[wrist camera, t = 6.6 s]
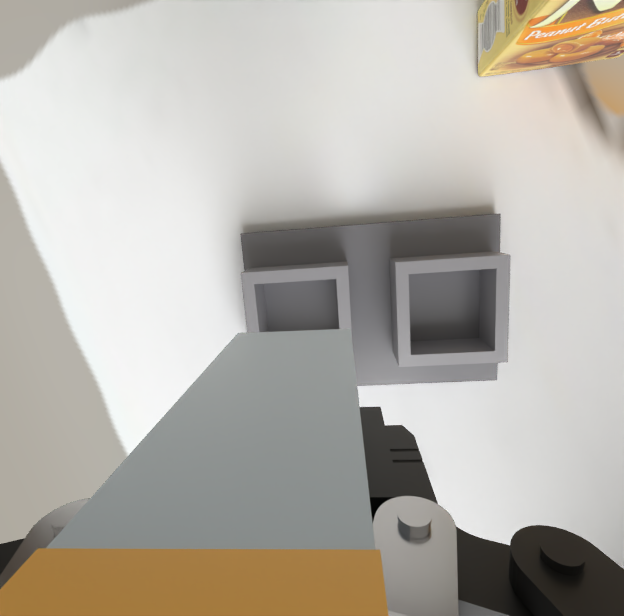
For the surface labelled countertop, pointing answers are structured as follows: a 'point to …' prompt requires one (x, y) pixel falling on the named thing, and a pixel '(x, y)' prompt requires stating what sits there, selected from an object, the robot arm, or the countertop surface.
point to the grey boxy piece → (389, 294)
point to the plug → (229, 500)
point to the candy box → (547, 33)
